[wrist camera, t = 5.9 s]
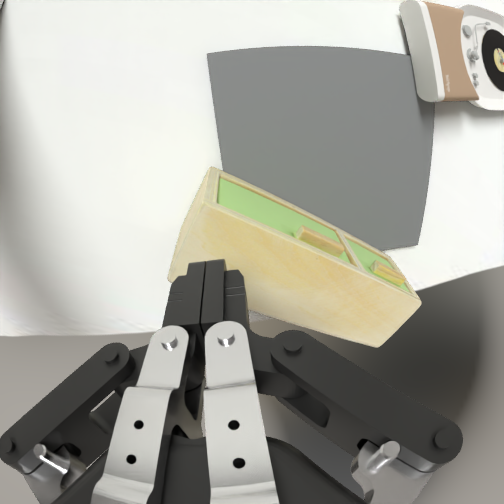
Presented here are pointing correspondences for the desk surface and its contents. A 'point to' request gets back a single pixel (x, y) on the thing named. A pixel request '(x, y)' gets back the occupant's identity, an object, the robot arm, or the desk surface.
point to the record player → (456, 52)
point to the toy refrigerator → (294, 262)
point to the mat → (329, 134)
